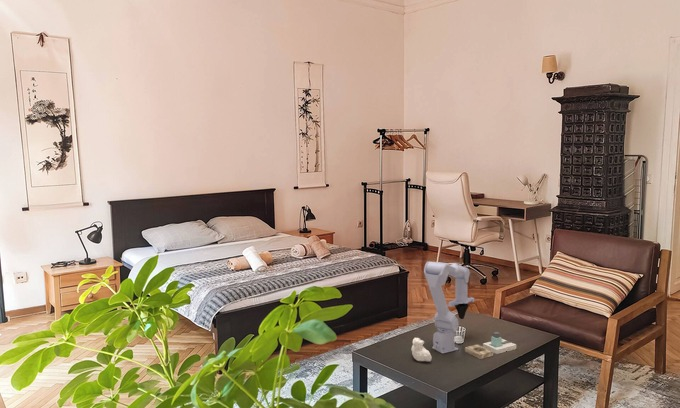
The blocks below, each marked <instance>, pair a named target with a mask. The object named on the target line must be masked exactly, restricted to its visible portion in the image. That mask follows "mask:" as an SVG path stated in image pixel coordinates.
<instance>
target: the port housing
mask: <svg viewBox="0 0 680 408" xmlns="http://www.w3.org/2000/svg"><path fill="white" fill-rule="evenodd" d="M482 347H485V348H487V349H489V350H491V351H493V354H496V355H498V354H502V353H506V351H507V352H510V351H514V350H516V349H517V344H516V343H513V342H511V341H508V340H506V339H503V338H502V343H501V346H500V347H496V348H495V347H493V346H491V341H488V342H484V343H482Z"/></svg>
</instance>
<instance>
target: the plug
mask: <svg viewBox="0 0 680 408" xmlns="http://www.w3.org/2000/svg"><path fill="white" fill-rule="evenodd" d="M490 339H491V341H490V342H491V346H493V347H495V348H496V347H500V346H501V343H502V339H503V337H501V333H500V332H499V331H494V332H492V336H491V338H490Z"/></svg>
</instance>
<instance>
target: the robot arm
mask: <svg viewBox="0 0 680 408" xmlns="http://www.w3.org/2000/svg"><path fill="white" fill-rule="evenodd" d="M470 271H471V270H470V269H469V268H468V267H465V266H462V265H461V264H459V265H458V263H456V262H454V263H451V264H449V263H447V262H441V261H440V262H439V261H426V262H425V265H424V268H423V274H424V277H425V279H426V280H425V281H426V282H427V285H428V289H429V291H430V295H431V297H432V301H433V304H434V307H435V309H436V312H435V314H434V317H433V319H434V327H435V328H436V329H437V331H436V332H434V333H433V336H432V345H433V346H432V347H431V348H432V349H433V350H434V351H435V350H436V351H437V352H439V353H441V354H447V353H450V352H454V351H459V348H458V347H456V346H455V332H456V331H457V330H458V328H459V319H460V320H464V319H465V315H466V313H467V310H468V308H469V306H470V305H469V303H475V297H468V291H469V290H468V283H469V280H470V275H471V272H470ZM449 276H451V277H453V278H454V279H455V280H454V281H455V285H454V286H455V289H454V291H455V298H454V299H453V300H451V301H447V300H446V296H445V294H444V291H443V287H442V286H443V285H445V284H446V282H447V280H448V277H449ZM449 307H450V308H451V307H455V310H456V312H457V315H458V318H459V319H458V318H457V317H456V314H454V313H453V312H452V311H450V309H449Z"/></svg>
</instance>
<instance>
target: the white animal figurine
mask: <svg viewBox="0 0 680 408" xmlns="http://www.w3.org/2000/svg"><path fill="white" fill-rule="evenodd" d="M424 344H425V341H424V340H422V339H421V337H414V338H413V339H412V345H411V349H410V350H411V355H412V357H413V359H414V360H416V362H417V361H418V362H431V361H432V355H431V353H430V351H429V350H428V349H426V347H425V346H424Z"/></svg>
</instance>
